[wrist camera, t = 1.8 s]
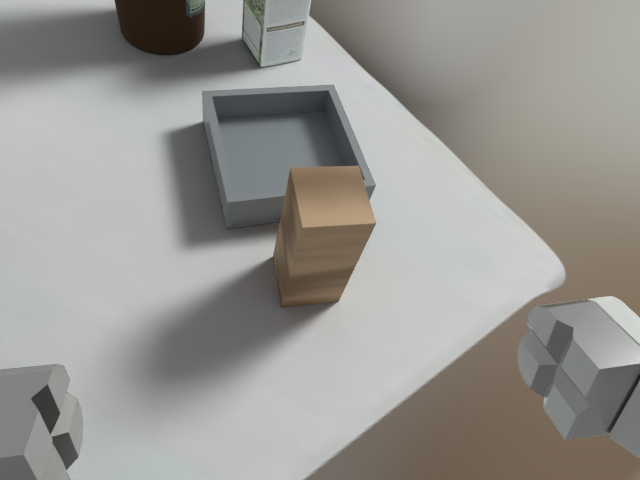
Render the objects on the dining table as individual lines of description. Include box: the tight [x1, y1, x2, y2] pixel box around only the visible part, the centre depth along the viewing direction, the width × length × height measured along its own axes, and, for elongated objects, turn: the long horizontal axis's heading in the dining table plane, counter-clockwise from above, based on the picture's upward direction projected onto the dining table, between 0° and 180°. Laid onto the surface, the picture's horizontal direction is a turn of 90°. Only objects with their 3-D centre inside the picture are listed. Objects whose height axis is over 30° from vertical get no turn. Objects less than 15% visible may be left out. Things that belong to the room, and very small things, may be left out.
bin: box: [202, 85, 376, 229], centre depth 48 cm, size 14×14×4 cm
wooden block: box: [273, 166, 376, 307], centre depth 38 cm, size 5×5×12 cm
